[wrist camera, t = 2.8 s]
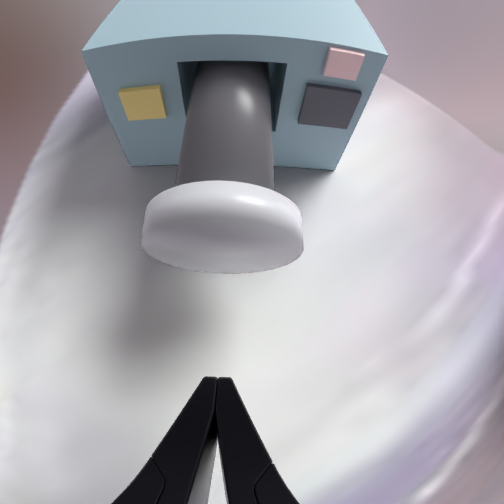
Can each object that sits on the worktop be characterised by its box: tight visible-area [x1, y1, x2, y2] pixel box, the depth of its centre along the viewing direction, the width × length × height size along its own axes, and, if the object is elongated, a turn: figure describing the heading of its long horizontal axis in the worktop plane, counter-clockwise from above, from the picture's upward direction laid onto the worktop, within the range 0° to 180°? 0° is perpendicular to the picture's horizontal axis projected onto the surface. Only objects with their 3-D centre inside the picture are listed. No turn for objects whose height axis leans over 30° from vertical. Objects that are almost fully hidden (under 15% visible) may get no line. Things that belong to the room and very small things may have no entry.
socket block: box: [82, 0, 388, 170], centre depth 17 cm, size 12×14×10 cm
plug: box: [141, 60, 303, 274], centre depth 14 cm, size 14×6×6 cm, turn 0°
